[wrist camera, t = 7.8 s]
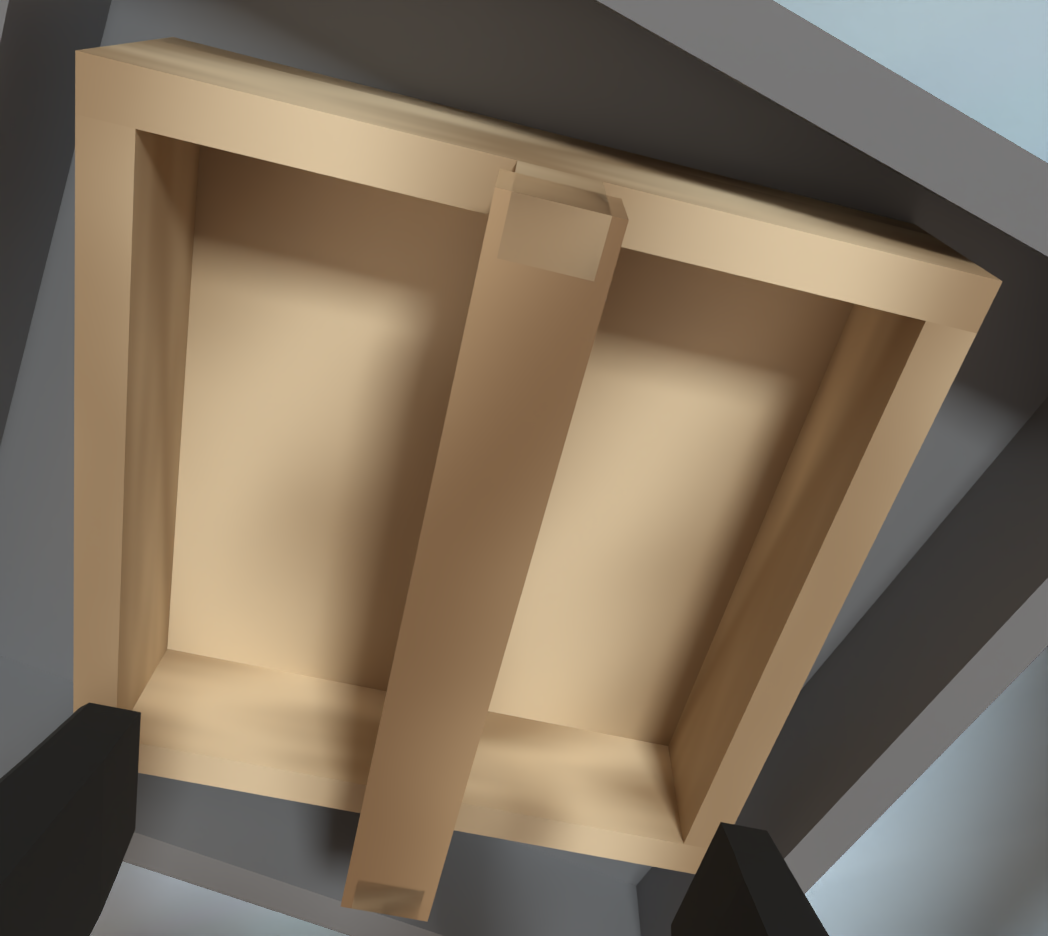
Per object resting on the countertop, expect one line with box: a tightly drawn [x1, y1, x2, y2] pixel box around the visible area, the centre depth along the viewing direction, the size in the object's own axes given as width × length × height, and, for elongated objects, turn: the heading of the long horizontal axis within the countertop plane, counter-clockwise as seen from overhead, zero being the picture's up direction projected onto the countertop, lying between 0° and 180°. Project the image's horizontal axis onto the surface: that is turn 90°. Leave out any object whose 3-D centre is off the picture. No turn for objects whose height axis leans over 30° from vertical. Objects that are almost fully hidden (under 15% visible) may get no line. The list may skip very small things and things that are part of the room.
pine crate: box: [73, 37, 1003, 922], centre depth 16 cm, size 13×13×6 cm
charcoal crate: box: [0, 0, 1048, 936], centre depth 18 cm, size 20×20×4 cm
